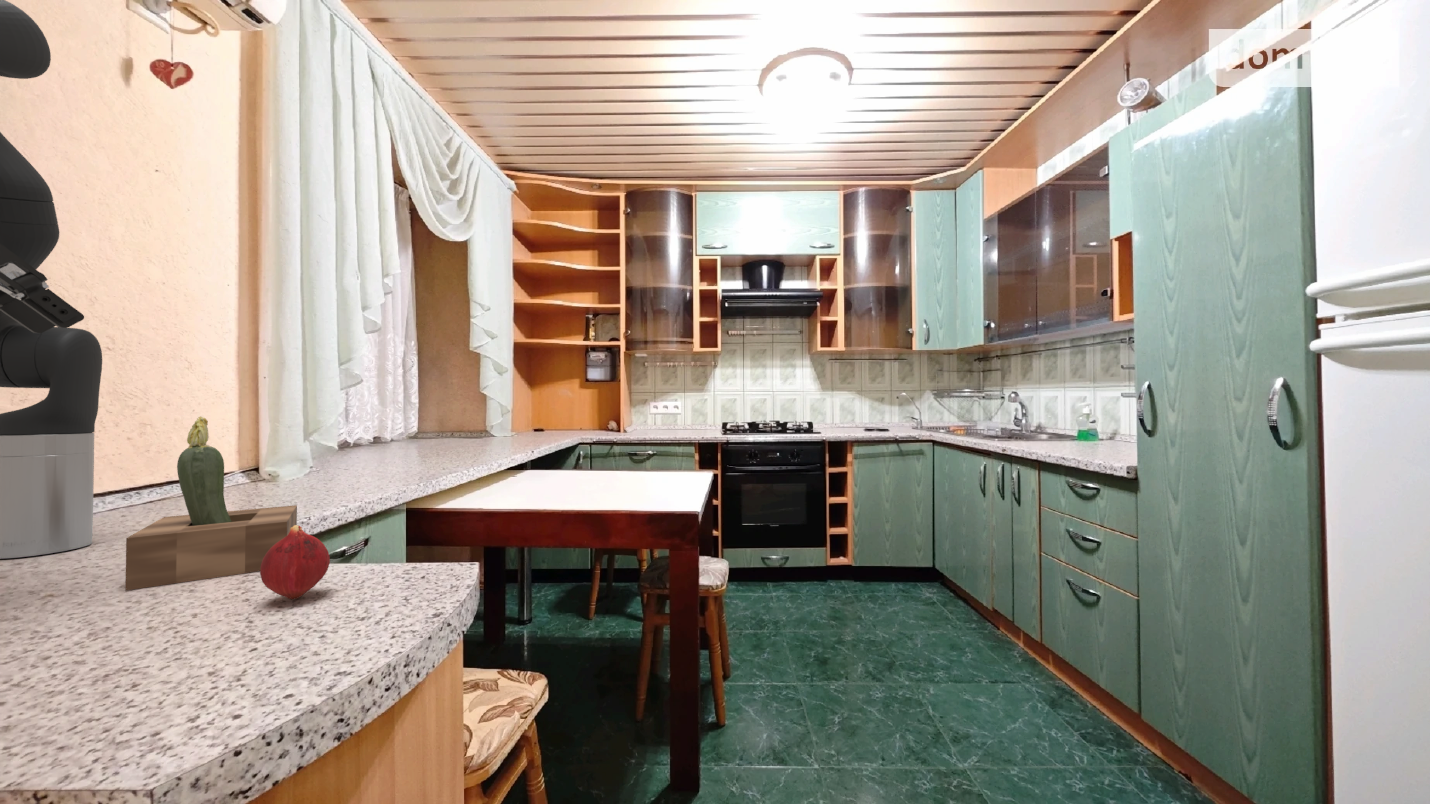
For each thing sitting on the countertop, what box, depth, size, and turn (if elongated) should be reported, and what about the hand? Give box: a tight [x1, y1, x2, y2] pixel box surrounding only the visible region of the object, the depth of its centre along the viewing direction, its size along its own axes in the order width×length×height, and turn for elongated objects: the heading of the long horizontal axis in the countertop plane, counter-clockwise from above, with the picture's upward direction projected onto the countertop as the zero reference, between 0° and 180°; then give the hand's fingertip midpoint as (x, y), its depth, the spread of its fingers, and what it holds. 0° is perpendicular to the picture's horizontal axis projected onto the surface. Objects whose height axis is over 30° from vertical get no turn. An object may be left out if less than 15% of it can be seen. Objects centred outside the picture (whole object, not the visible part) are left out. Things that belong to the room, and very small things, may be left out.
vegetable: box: [176, 416, 232, 526], centre depth 65 cm, size 4×4×20 cm
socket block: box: [124, 504, 298, 591], centre depth 66 cm, size 14×14×6 cm
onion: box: [259, 524, 331, 600], centre depth 54 cm, size 6×6×8 cm
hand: (61, 326), depth 55 cm, fingers open, 8 cm apart
